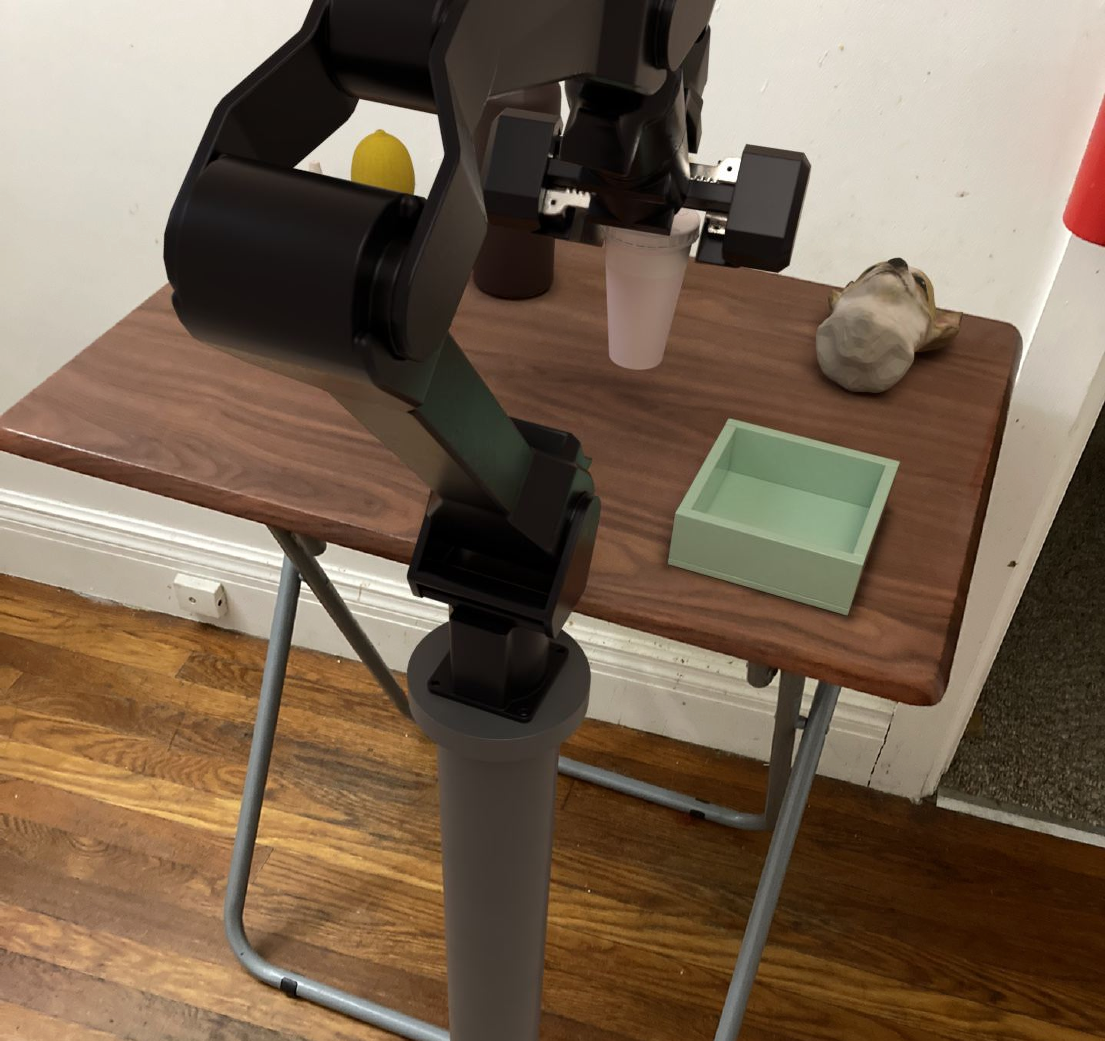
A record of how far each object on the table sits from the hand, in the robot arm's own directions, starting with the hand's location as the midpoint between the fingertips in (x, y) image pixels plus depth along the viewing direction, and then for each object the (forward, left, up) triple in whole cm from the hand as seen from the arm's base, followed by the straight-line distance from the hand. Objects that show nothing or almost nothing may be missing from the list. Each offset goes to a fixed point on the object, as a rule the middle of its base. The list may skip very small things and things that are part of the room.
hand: (651, 247), depth 76 cm
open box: (-10, -14, -12) cm, 21 cm away
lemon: (+19, +30, -12) cm, 38 cm away
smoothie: (-1, 0, -7) cm, 7 cm away
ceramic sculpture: (+15, -15, -12) cm, 25 cm away
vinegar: (+14, +16, -2) cm, 22 cm away
